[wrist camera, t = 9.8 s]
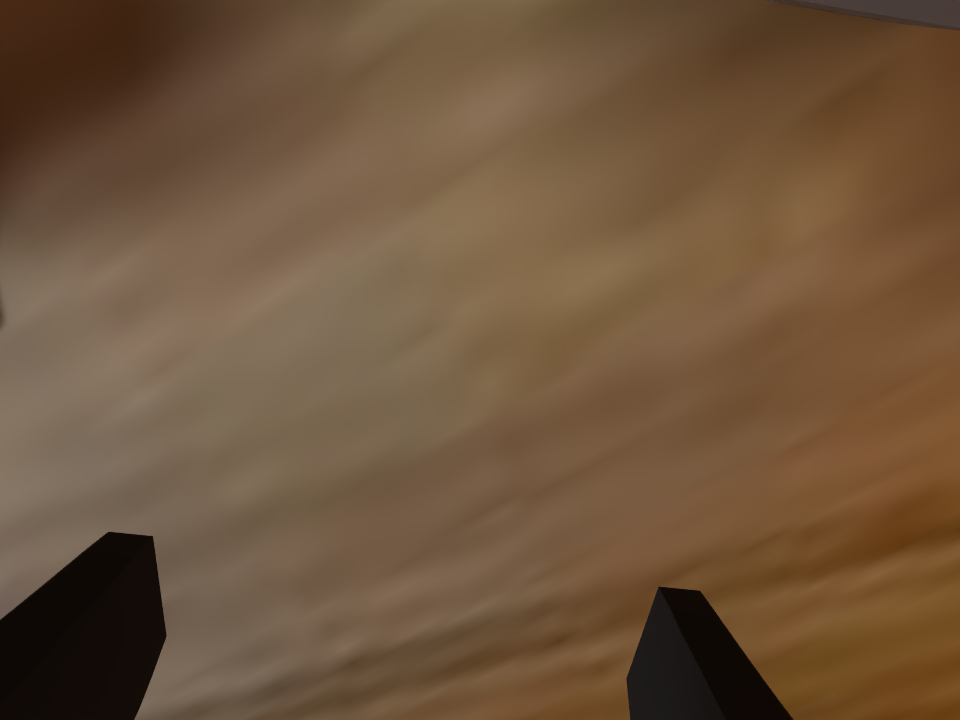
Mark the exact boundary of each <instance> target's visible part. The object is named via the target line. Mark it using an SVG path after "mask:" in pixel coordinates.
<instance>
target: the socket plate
mask: <svg viewBox="0 0 960 720" xmlns="http://www.w3.org/2000/svg"><path fill="white" fill-rule="evenodd" d="M768 1H774V2H780V3H786V4H792V5H798V6H804V7H809V8H815V9H821V10H827V11H833V12H839V13H844V14H850V15H856V16H862V17H868V18H874V19H880V20H885V21H891V22H897V23H903V24H909V25H917V26H926V27H934V28H943V29H952V30H960V0H768Z"/></svg>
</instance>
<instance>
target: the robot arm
mask: <svg viewBox="0 0 960 720" xmlns="http://www.w3.org/2000/svg"><path fill="white" fill-rule="evenodd" d="M165 639H166V629H165V622H164V614H163V607H162V600H161V592H160V585H159V578H158V570H157V563H156V555H155V548H154V541H153V536H145V535H135V534H125V533H115V532H108V533H106V534H105V535H104V536H102V537H101V538H100V539H99V540H97V541H96V542H95V543H94V544H92V545H91V546H90V547H89V548H87V549H86V550H85V551H84V552H82V553H81V554H80V555H79V556H78V557H76V558H75V559H74V560H73V561H72V562H70V563H69V564H68V565H67V566H65V567H64V568H63V569H62V570H61V571H59V572H58V573H57V574H56V575H55V576H53V577H52V578H51V579H50V580H49V581H47V582H46V583H45V584H44V585H42V586H41V587H40V588H39V589H38V590H36V591H35V592H34V593H33V594H31V595H30V596H29V597H28V598H27V599H25V600H24V601H23V602H22V603H20V604H19V605H18V606H17V607H16V608H14V609H13V610H12V611H11V612H9V613H8V614H7V615H6V616H4V617H3V618H2V619H1V620H0V720H134V719H135V717H136V715H137V713H138V710H139V708H140V706H141V703H142V700H143V698H144V695H145V693H146V690H147V688H148V685H149V682H150V680H151V677H152V675H153V672H154V669H155V666H156V664H157V661H158V658H159V655H160V653H161V650H162V647H163V644H164V642H165ZM627 689H628V699H629V710H630V720H793V718H792V717H791V716H790V714H789V713H788V712H787V711H786V709H785V708H784V707H783V705H782V704H781V703H780V701H779V700H778V699H777V697H776V696H775V695H774V693H773V692H772V690H771V689H770V688H769V686H768V685H767V684H766V682H765V681H764V680H763V678H762V677H761V675H760V674H759V673H758V671H757V670H756V668H755V667H754V666H753V664H752V663H751V662H750V660H749V659H748V657H747V656H746V655H745V653H744V652H743V650H742V649H741V648H740V646H739V645H738V643H737V642H736V641H735V639H734V638H733V636H732V635H731V633H730V632H729V631H728V629H727V628H726V626H725V625H724V624H723V622H722V621H721V619H720V618H719V616H718V615H717V614H716V612H715V611H714V609H713V608H712V607H711V605H710V604H709V602H708V601H707V600H706V598H705V597H704V596H703V594H702V593H701V592H700V591H697V590H687V589H677V588H667V587H658V590H657V593H656V596H655V599H654V602H653V604H652V607H651V610H650V613H649V616H648V619H647V622H646V624H645V627H644V630H643V633H642V636H641V639H640V642H639V644H638V647H637V650H636V653H635V656H634V659H633V662H632V665H631V667H630V670H629V673H628V676H627Z"/></svg>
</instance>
